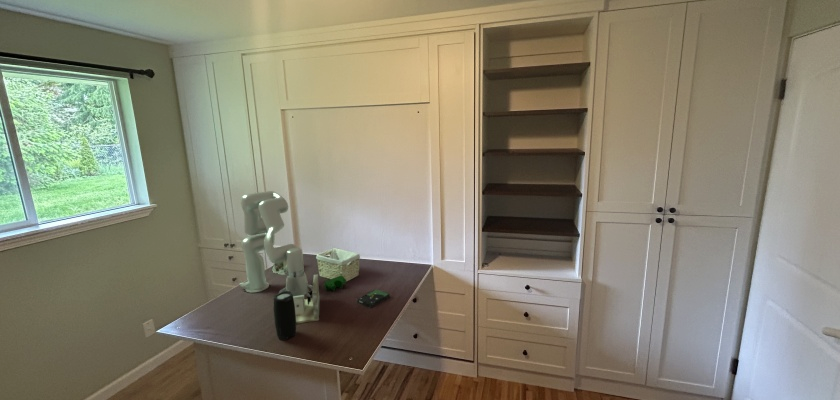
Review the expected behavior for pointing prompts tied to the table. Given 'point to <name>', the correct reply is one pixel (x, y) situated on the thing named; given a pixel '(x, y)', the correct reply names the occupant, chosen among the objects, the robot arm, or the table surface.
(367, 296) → the disk drive
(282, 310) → the portable speaker
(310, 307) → the curved railed panel
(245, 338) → the table surface
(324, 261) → the storage basket
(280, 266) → the ceramic cottage
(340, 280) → the clamp
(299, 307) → the mini cabinet
